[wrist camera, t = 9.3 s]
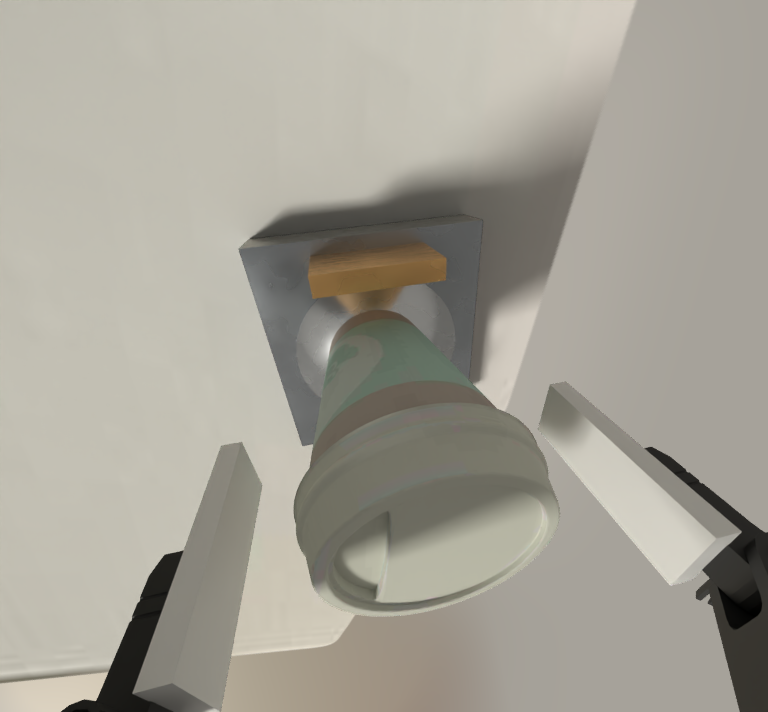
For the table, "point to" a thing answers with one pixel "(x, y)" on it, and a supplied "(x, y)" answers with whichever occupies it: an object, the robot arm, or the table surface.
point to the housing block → (361, 293)
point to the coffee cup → (415, 479)
